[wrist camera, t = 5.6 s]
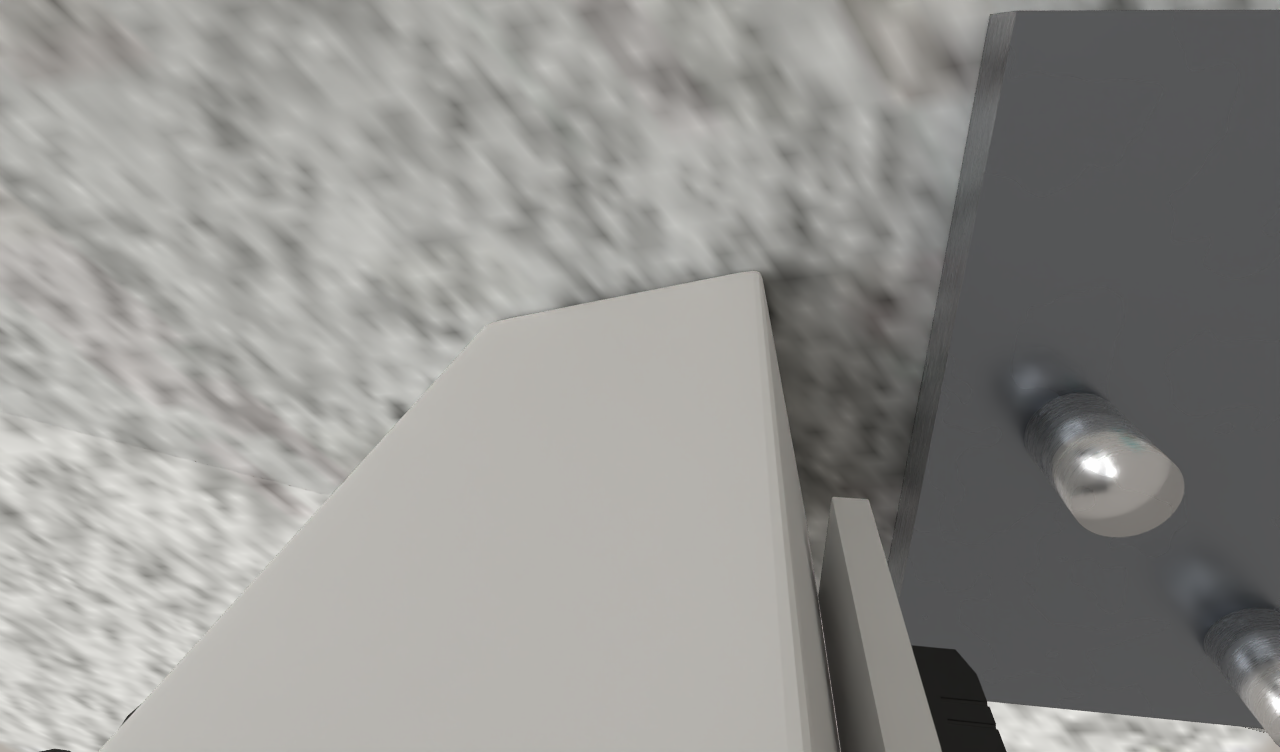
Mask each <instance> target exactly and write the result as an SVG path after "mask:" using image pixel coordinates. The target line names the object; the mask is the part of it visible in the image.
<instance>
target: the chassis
mask: <svg viewBox="0 0 1280 752" xmlns="http://www.w3.org/2000/svg"><path fill="white" fill-rule="evenodd" d="M888 568H889V571H890V574H891V578H892V581H893V585H894V588H895V592H896V595H897V599H898V602H899V605H900V609H901V612H902V616H903V619H904V623H905V626H906V630H907V633H908V636H909V640H910V643H911V645H914V646H925V647H935V648H946V649H955V650H956V651H957V652H958V653H959V654H960V655H961V656H962V658H963V659H964V660H965V661H966V662H967V663H968V665H969V666H970V667H971V668H972V669H973V670H974V671H975V673H976V674H977V676H978V679H979V681H980V684H981V686H982V689H983V692H984V694H985V697H986V700H987V701H990V702H1000V703H1010V704H1020V705H1030V706H1040V707H1050V708H1060V709H1070V710H1081V711H1091V712H1101V713H1111V714H1121V715H1131V716H1141V717H1151V718H1161V719H1171V720H1181V721H1191V722H1201V723H1211V724H1221V725H1231V726H1241V727H1251V728H1261V729H1265V730H1266V732H1267V733H1268V734H1269V736H1270V737H1271V738H1272V739H1273V741H1274V742H1275V743H1276V744H1277V745H1278V746H1279V747H1280V10H1121V11H1012V12H1005V13H997V14H990V18H989V23H988V29H987V34H986V40H985V45H984V50H983V56H982V61H981V67H980V72H979V77H978V83H977V88H976V93H975V99H974V104H973V110H972V115H971V120H970V126H969V131H968V136H967V142H966V147H965V153H964V158H963V163H962V169H961V174H960V180H959V185H958V190H957V196H956V201H955V206H954V212H953V217H952V223H951V228H950V233H949V239H948V244H947V249H946V255H945V260H944V266H943V271H942V276H941V282H940V287H939V292H938V298H937V303H936V309H935V314H934V319H933V325H932V330H931V336H930V341H929V346H928V352H927V357H926V362H925V368H924V373H923V379H922V384H921V389H920V395H919V400H918V405H917V411H916V416H915V422H914V427H913V432H912V438H911V443H910V449H909V454H908V459H907V465H906V470H905V475H904V481H903V486H902V492H901V497H900V502H899V508H898V513H897V518H896V524H895V529H894V535H893V540H892V545H891V551H890V556H889V561H888Z"/></svg>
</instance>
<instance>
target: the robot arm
mask: <svg viewBox="0 0 1280 752" xmlns="http://www.w3.org/2000/svg"><path fill="white" fill-rule="evenodd" d="M818 599H819V605H820V612H821V619H822V626H823V633H824V640H825V646H826V653H827V660H828V667H829V674H830V680H831V687H832V694H833V701H834V708H835V714H836V721H837V728H838V735H839V742H840V748H841V752H1006V749H1005V747H1004V744H1003V741H1002V739H1001V736H1000V734H999V731H998V730H997V729H996V723H995V720H994V718H993V715H992V713H991V710H990V707H988V706H987V700H986V697H985V694H984V692H983V689H982V686H981V684H980V681H979V679H978V676H977V674H976V673H975V671H974V670H973V669H972V668H971V667H970V666H969V665H968V663H967V662H966V661H965V660H964V659H963V658H962V656H961V655H960V654H959V653H958V652H957V651H956V650H955V649H946V648H935V647H925V646H914V645H911V643H910V640H909V636H908V633H907V630H906V626H905V623H904V619H903V616H902V612H901V609H900V605H899V602H898V599H897V595H896V592H895V588H894V585H893V581H892V578H891V574H890V571H889V568H888V564H887V561H886V557H885V554H884V550H883V547H882V543H881V540H880V537H879V533H878V530H877V526H876V523H875V519H874V516H873V512H872V509H871V506H870V502H869V499H858V498H843V497H832V500H831V507H830V514H829V522H828V529H827V536H826V544H825V551H824V558H823V566H822V573H821V580H820V587H819V595H818ZM139 706H140V705H139ZM139 706H138V707H139ZM138 707H137V708H138ZM137 708H136V709H137ZM136 709H135V710H136ZM135 710H134V711H133V712H132V713H130V714H129V715H128V716H127V718H126V719H125V721H126V720H127V719H128V718H129V717H130V716H131V715H132V714H133V713H134V712H135ZM125 721H124V722H123V724H124V723H125ZM123 724H122V725H123ZM122 725H121V726H122ZM41 752H71V751H67V750H60V749H51V750H46V751H41Z"/></svg>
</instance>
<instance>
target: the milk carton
mask: <svg viewBox="0 0 1280 752" xmlns="http://www.w3.org/2000/svg"><path fill="white" fill-rule="evenodd" d="M98 752H840V745H839V738H838V732H837V725H836V718H835V711H834V704H833V698H832V691H831V684H830V677H829V670H828V663H827V657H826V650H825V643H824V636H823V629H822V623H821V616H820V609H819V602H818V595H817V589H816V582H815V575H814V568H813V561H812V555H811V548H810V541H809V534H808V527H807V521H806V514H805V509H804V503H803V498H802V492H801V487H800V481H799V476H798V471H797V465H796V460H795V454H794V449H793V443H792V438H791V432H790V427H789V421H788V416H787V410H786V405H785V399H784V394H783V388H782V383H781V377H780V372H779V366H778V361H777V355H776V350H775V344H774V339H773V333H772V328H771V322H770V317H769V311H768V306H767V300H766V295H765V289H764V284H763V279H762V276H761V274H760V272H758V271H747V272H740V273H735V274H729V275H724V276H719V277H714V278H709V279H704V280H699V281H694V282H689V283H684V284H679V285H674V286H669V287H664V288H659V289H654V290H649V291H644V292H639V293H634V294H629V295H624V296H619V297H614V298H609V299H604V300H599V301H594V302H588V303H583V304H578V305H573V306H568V307H563V308H558V309H553V310H548V311H543V312H538V313H533V314H528V315H523V316H518V317H514V318H509V319H504V320H500V321H496V322H492V323H490V324H488V325H486V326H485V327H484V328H483V329H482V330H481V331H480V332H479V333H478V334H477V335H476V337H475V338H474V339H473V340H472V341H471V342H470V343H469V344H468V345H467V346H466V348H465V349H464V350H463V351H462V352H461V353H460V354H459V355H458V356H457V357H456V359H455V360H454V361H453V362H452V363H451V364H450V365H449V366H448V367H447V368H446V370H445V371H444V372H443V373H442V374H441V375H440V376H439V377H438V378H437V379H436V381H435V382H434V383H433V384H432V385H431V386H430V387H429V388H428V389H427V390H426V392H425V393H424V394H423V395H422V396H421V397H420V398H419V399H418V400H417V401H416V403H415V404H414V405H413V406H412V407H411V408H410V409H409V410H408V411H407V412H406V414H405V415H404V416H403V417H402V418H401V419H400V420H399V421H398V422H397V423H396V425H395V426H394V427H393V428H392V429H391V430H390V431H389V432H388V433H387V434H386V436H385V437H384V438H383V439H382V440H381V441H380V442H379V443H378V444H377V445H376V447H375V448H374V449H373V450H372V451H371V452H370V453H369V454H368V455H367V456H366V458H365V459H364V460H363V461H362V462H361V463H360V464H359V465H358V466H357V467H356V469H355V470H354V471H353V472H352V473H351V474H350V475H349V476H348V477H347V478H346V480H345V481H344V482H343V483H342V484H341V485H340V486H339V487H338V488H337V489H336V491H335V492H334V493H333V494H332V495H331V496H330V497H329V498H328V499H327V500H326V502H325V503H324V504H323V505H322V506H321V507H320V508H319V509H318V510H317V511H316V513H315V514H314V515H313V516H312V517H311V518H310V519H309V520H308V521H307V522H306V524H305V525H304V526H303V527H302V528H301V529H300V530H299V531H298V532H297V533H296V535H295V536H294V537H293V538H292V539H291V540H290V541H289V542H288V543H287V544H286V546H285V547H284V548H283V549H282V550H281V551H280V552H279V553H278V554H277V555H276V557H275V558H274V559H273V560H272V561H271V562H270V563H269V564H268V565H267V566H266V568H265V569H264V570H263V571H262V572H261V573H260V574H259V575H258V576H257V577H256V579H255V580H254V581H253V582H252V583H251V584H250V585H249V586H248V587H247V588H246V589H245V591H244V592H243V593H242V594H241V595H240V596H239V597H238V598H237V599H236V600H235V602H234V603H233V604H232V605H231V606H230V607H229V608H228V609H227V610H226V611H225V613H224V614H223V615H222V616H221V617H220V618H219V619H218V620H217V621H216V622H215V624H214V625H213V626H212V627H211V628H210V629H209V630H208V631H207V632H206V633H205V635H204V636H203V637H202V638H201V639H200V640H199V641H198V642H197V643H196V644H195V646H194V647H193V648H192V649H191V650H190V651H189V652H188V653H187V654H186V655H185V657H184V658H183V659H182V660H181V661H180V662H179V663H178V664H177V665H176V666H175V668H174V669H173V670H172V671H171V672H170V673H169V674H168V675H167V676H166V677H165V679H164V680H163V681H162V682H161V683H160V684H159V685H158V686H157V687H156V688H155V690H154V691H153V692H152V693H151V694H150V695H149V696H148V697H147V698H146V699H145V701H144V702H143V703H142V704H141V705H140V706H139V707H138V708H137V709H136V710H135V712H134V713H133V714H132V715H131V716H130V717H129V718H128V719H127V720H126V721H125V723H124V724H123V725H122V726H121V727H120V728H119V729H118V730H117V731H116V732H115V734H114V735H113V736H112V737H111V738H110V739H109V740H108V741H107V742H106V743H105V745H104V746H103V747H102V748H101V749H100V750H99V751H98Z"/></svg>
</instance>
